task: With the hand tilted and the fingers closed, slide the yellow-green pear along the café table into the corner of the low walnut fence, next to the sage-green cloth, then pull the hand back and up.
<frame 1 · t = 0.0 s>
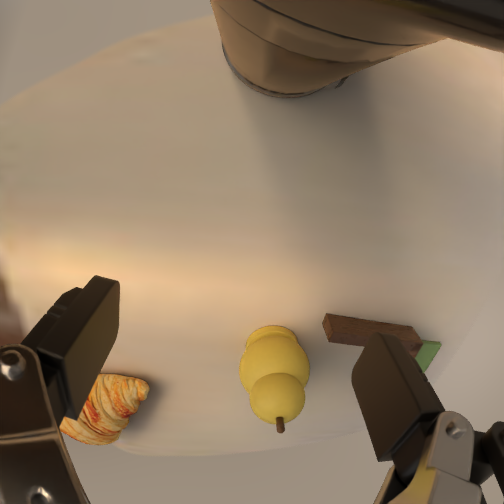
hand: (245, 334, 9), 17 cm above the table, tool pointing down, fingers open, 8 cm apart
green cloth: (407, 369, 33), on the table
pear: (271, 346, 31), on the table
corner fence: (384, 368, 33), on the table
croissant: (97, 397, 35), on the table
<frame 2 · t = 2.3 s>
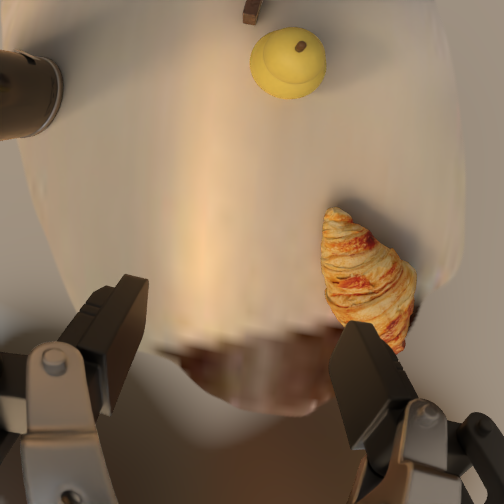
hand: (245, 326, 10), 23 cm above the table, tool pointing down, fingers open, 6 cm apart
pear: (283, 70, 26), on the table
croissant: (366, 279, 35), on the table
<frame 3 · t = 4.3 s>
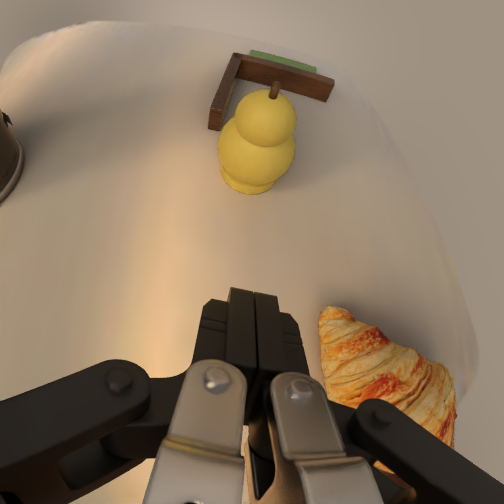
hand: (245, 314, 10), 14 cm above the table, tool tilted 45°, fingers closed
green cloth: (281, 70, 36), on the table
pear: (249, 170, 29), on the table
corner fence: (278, 85, 34), on the table
croissant: (384, 405, 23), on the table
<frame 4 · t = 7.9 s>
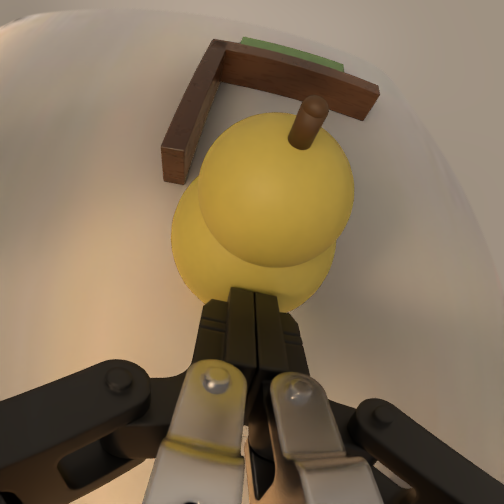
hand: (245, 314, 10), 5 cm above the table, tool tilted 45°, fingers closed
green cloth: (290, 68, 23), on the table
pear: (240, 265, 16), on the table, touching gripper
corner fence: (287, 92, 21), on the table
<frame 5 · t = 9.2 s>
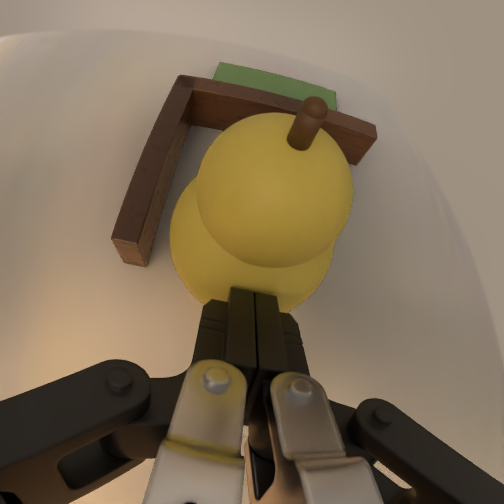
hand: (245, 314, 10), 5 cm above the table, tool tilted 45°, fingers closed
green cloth: (274, 100, 21), on the table
pear: (238, 265, 16), on the table, touching gripper
corner fence: (269, 134, 19), on the table
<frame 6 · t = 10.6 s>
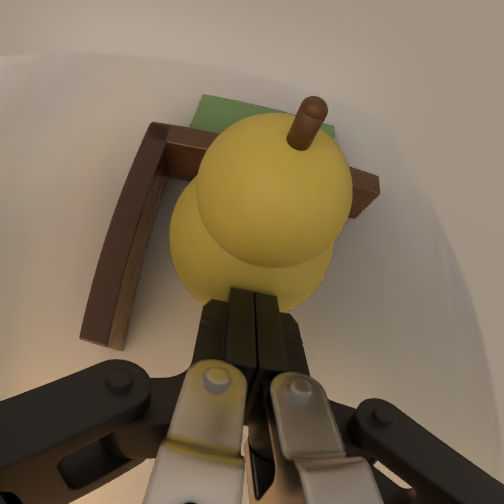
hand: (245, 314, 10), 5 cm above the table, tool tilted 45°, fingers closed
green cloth: (263, 140, 19), on the table
pear: (237, 265, 16), on the table, touching gripper
corner fence: (256, 185, 18), on the table
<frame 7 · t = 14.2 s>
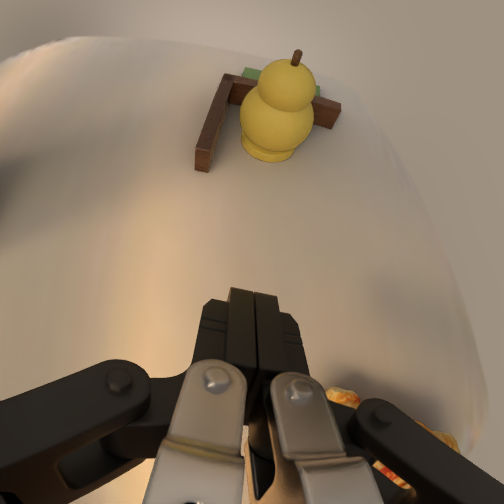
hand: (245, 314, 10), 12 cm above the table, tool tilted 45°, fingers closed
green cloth: (279, 91, 32), on the table
pear: (268, 141, 29), on the table
corner fence: (276, 110, 31), on the table
croissant: (387, 473, 19), on the table
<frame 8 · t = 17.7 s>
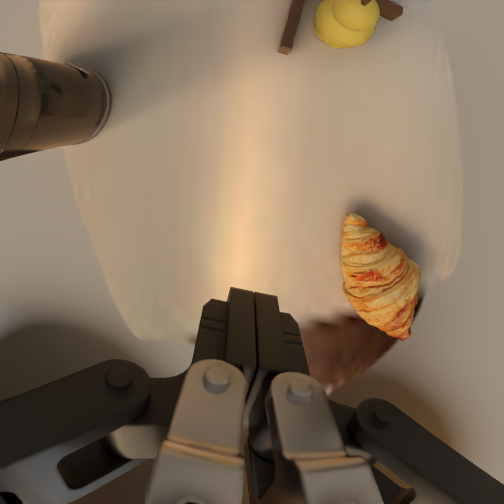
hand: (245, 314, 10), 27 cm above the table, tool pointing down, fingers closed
pear: (336, 28, 28), on the table
croissant: (377, 274, 41), on the table
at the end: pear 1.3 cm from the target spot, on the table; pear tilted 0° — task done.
